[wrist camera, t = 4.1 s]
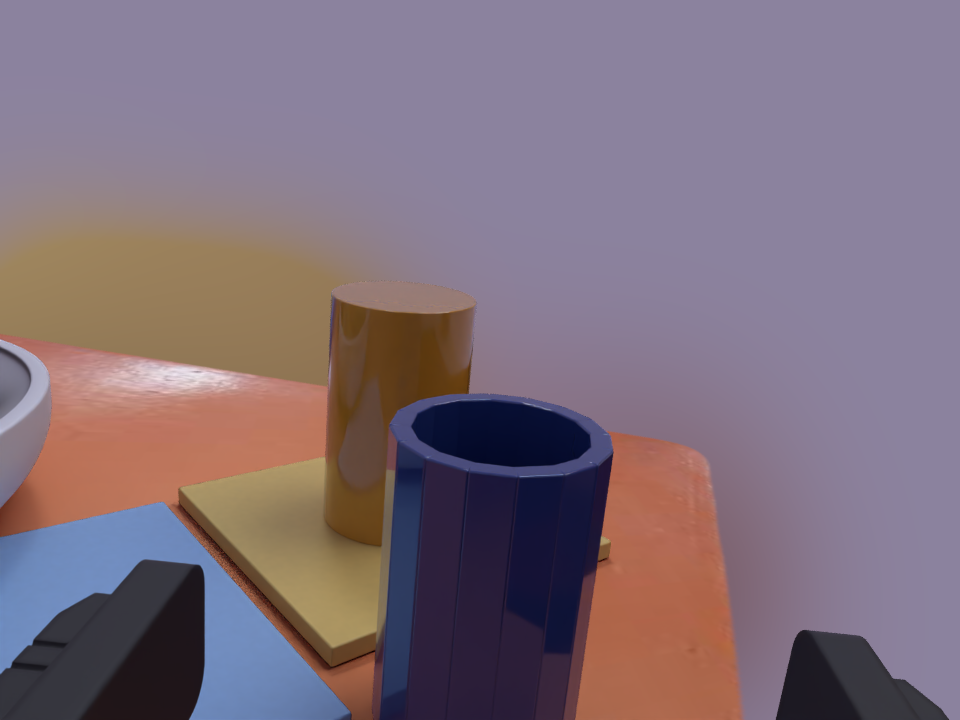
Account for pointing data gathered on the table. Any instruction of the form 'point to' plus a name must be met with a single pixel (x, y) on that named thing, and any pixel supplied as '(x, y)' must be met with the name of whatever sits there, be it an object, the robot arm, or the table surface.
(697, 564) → the table surface
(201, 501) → the mustard mat
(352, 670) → the table surface
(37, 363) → the bowl
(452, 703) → the navy cup
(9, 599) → the blue mat
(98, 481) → the table surface
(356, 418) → the glossy amber cylinder
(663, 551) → the table surface
